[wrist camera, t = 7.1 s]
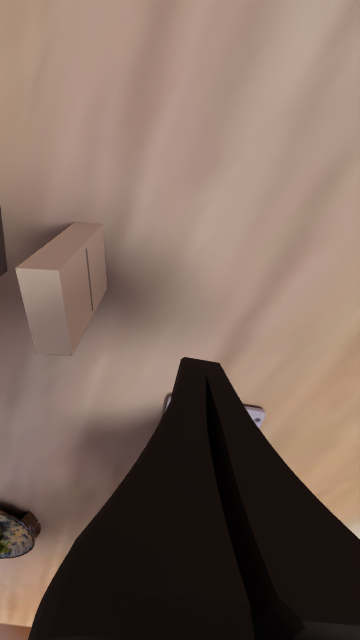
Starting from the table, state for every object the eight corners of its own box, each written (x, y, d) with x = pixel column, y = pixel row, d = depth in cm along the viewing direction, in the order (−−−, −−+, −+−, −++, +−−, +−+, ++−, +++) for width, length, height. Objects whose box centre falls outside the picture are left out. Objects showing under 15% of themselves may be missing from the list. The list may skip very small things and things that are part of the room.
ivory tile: (107, 287, 19) (72, 355, 13) (81, 286, 19) (35, 353, 13) (103, 224, 17) (59, 270, 11) (74, 222, 17) (14, 268, 11)
